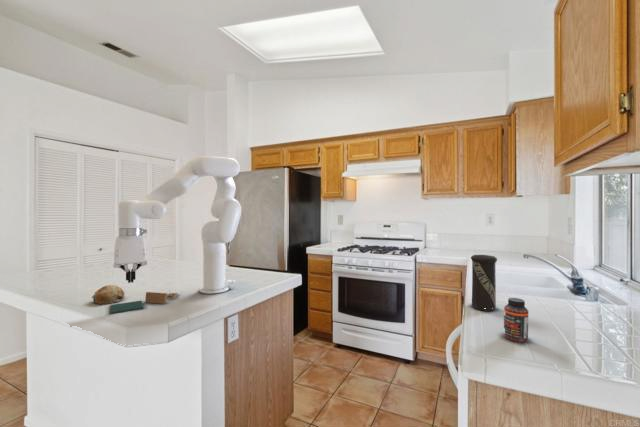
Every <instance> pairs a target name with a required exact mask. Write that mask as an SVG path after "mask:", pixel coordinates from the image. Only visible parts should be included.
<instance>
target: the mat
mask: <svg viewBox="0 0 640 427" xmlns="http://www.w3.org/2000/svg"><path fill="white" fill-rule="evenodd" d="M143 309H144V305H143V302H142V300H136V301H129V302H122V303H116V304H115V303H114V304H110V311H109V312H110V315H112V314H119V313H125V312H131V311H138V310H143Z"/></svg>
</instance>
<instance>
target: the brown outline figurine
mask: <svg viewBox="0 0 640 427" xmlns="http://www.w3.org/2000/svg"><path fill="white" fill-rule="evenodd" d="M177 296H178V293H177V292H172V293H171V292H170V293H167V292H154V291H146V292H145V298H144V300H145V303H149V304H163V305H164V304H166V303H167V298H176V297H177Z"/></svg>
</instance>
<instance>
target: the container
mask: <svg viewBox="0 0 640 427" xmlns="http://www.w3.org/2000/svg"><path fill="white" fill-rule="evenodd" d="M470 259H471V262H472V263H471V264H472V266H471V270H472V273H471V282H472V283H471V307H472V308H473V309H475V310H479V311H483V312H484V311H485V312H493V311H496V309H497V292H496V291H497V290H496V289H497V288H496V287H497V285H496V284H497V283H496V282H497V280H496V263H497V261H498V257H496V256H495V255H488V254H473V255H471V256H470ZM484 308H486V309H484ZM492 308H493V309H492Z"/></svg>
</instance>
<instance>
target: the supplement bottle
mask: <svg viewBox="0 0 640 427" xmlns="http://www.w3.org/2000/svg"><path fill="white" fill-rule="evenodd" d="M525 306H526V302H525V300H524V299H522V298H519V297H508V300H507V304H505V306H504V307H503V337H504V338H506V339H507V340H509V341H512V342H516V343H525V342H528V340H529V309H528V308H527V307H525Z"/></svg>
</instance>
